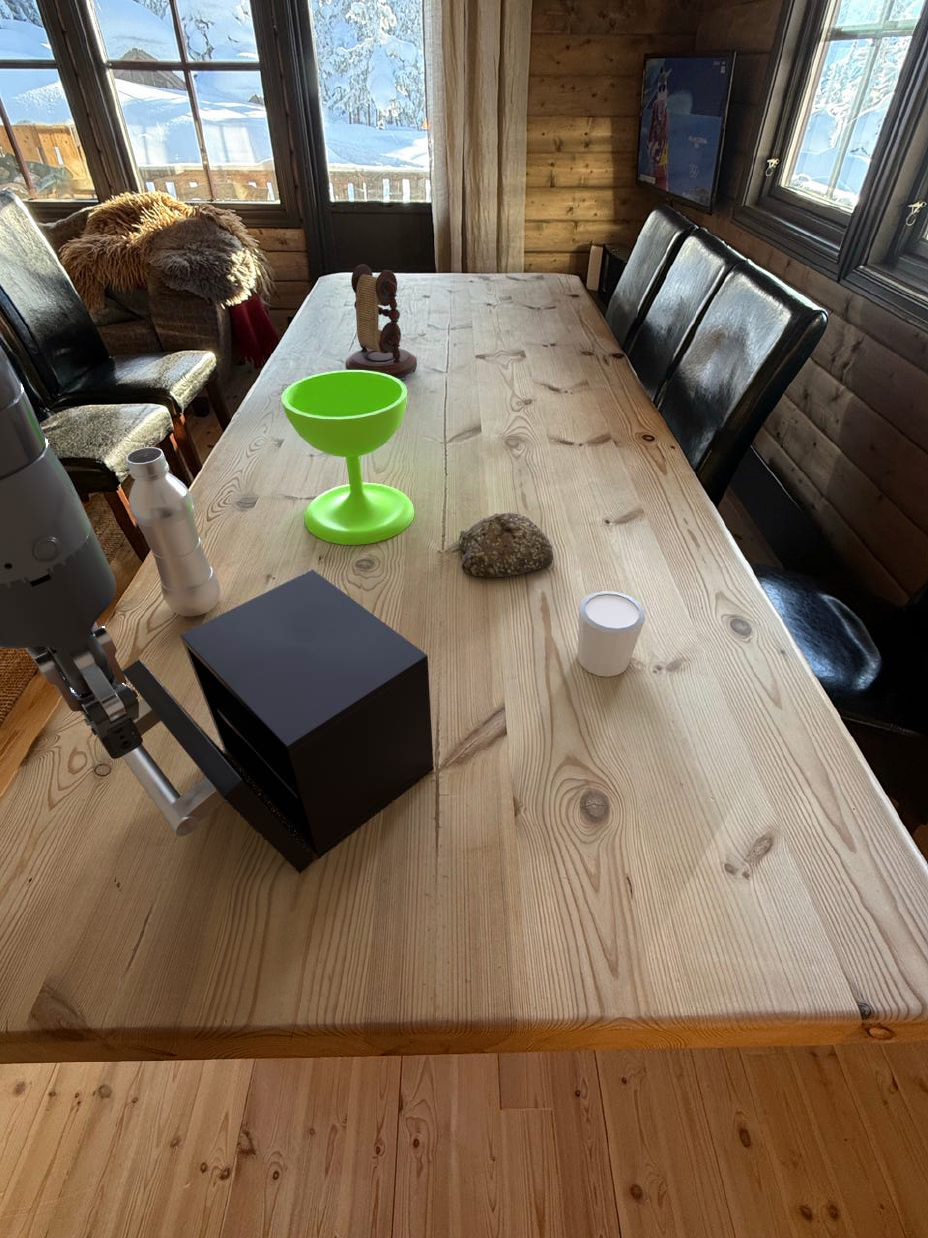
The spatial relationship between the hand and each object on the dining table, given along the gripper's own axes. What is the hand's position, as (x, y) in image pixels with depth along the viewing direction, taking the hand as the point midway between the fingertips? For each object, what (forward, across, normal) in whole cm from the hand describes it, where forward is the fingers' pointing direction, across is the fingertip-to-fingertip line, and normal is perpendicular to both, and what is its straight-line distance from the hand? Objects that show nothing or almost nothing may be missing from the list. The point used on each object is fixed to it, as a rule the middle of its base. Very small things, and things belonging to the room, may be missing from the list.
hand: (125, 746), depth 45 cm
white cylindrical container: (+15, +10, +44) cm, 48 cm away
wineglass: (+15, -33, +43) cm, 57 cm away
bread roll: (+15, -12, +51) cm, 55 cm away
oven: (+15, 0, +14) cm, 21 cm away
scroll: (+16, -74, +80) cm, 110 cm away
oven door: (+15, 0, +5) cm, 16 cm away
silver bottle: (+15, -30, +16) cm, 37 cm away
